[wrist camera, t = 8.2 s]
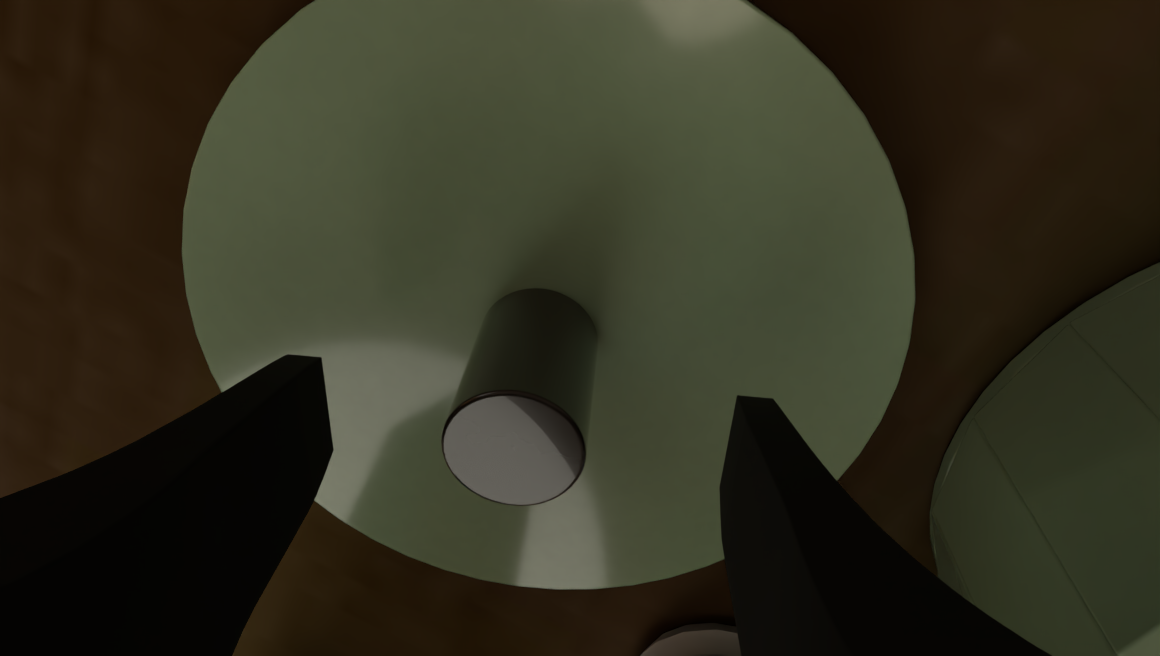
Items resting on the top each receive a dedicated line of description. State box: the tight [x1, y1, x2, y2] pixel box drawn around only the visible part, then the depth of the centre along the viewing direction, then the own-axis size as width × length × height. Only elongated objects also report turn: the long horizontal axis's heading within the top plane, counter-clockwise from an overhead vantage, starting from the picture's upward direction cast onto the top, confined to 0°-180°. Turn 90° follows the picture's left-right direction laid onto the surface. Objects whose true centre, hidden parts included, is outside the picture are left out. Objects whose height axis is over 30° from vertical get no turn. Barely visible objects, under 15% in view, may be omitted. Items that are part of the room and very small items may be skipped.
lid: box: [182, 0, 916, 590], centre depth 15 cm, size 15×15×5 cm
